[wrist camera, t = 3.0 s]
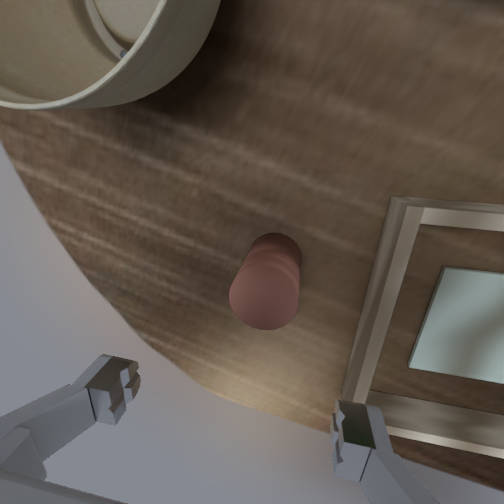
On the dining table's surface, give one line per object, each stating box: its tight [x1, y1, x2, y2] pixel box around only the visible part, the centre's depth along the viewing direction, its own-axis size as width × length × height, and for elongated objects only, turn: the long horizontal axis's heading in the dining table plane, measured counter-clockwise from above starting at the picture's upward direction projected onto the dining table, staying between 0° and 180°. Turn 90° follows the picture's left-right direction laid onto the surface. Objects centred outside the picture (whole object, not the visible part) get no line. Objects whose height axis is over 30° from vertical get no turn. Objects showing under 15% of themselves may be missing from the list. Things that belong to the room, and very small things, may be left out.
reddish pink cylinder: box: [229, 233, 301, 330], centre depth 20 cm, size 4×4×7 cm
